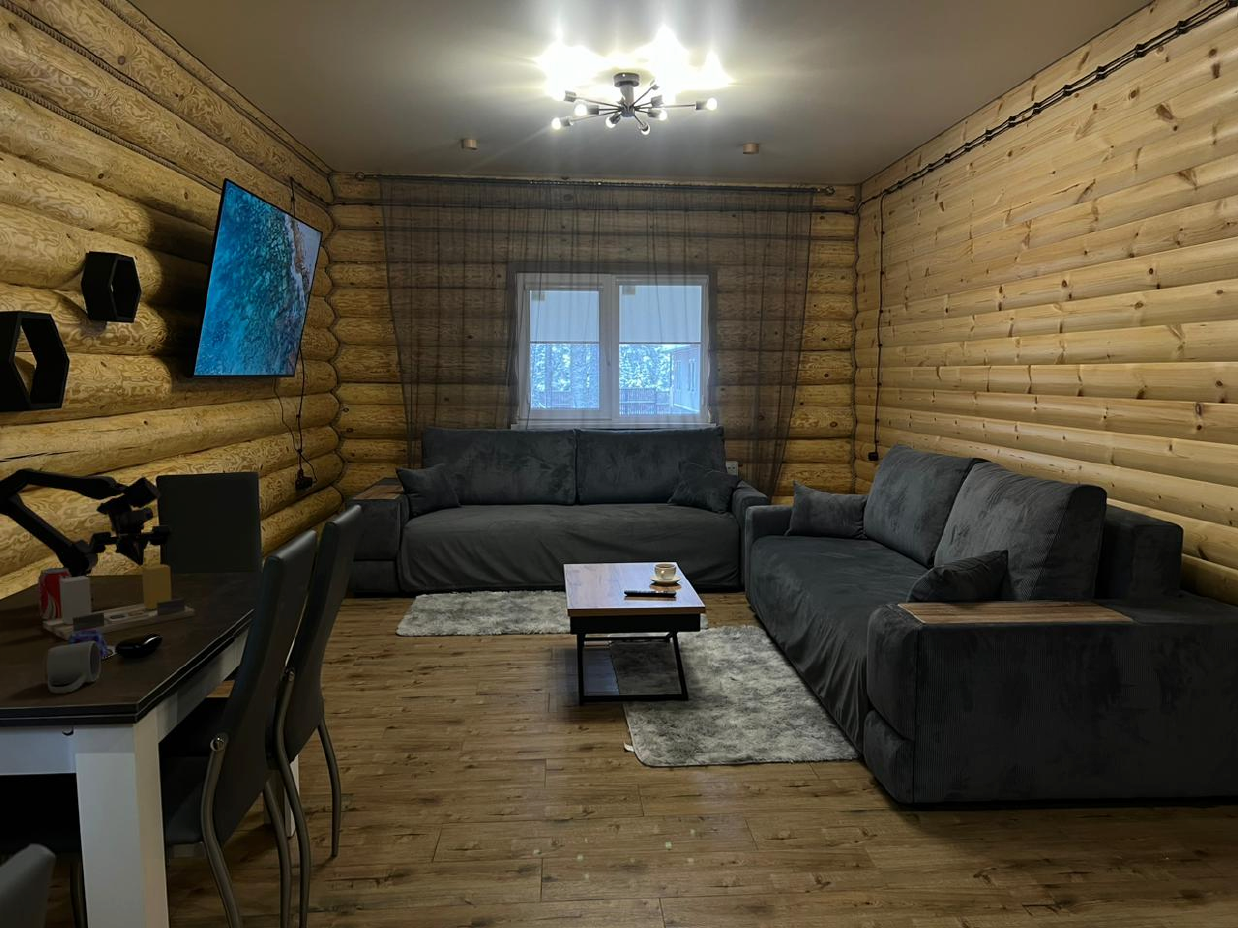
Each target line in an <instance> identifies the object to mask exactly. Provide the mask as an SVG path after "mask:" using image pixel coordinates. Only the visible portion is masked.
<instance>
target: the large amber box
mask: <svg viewBox="0 0 1238 928" xmlns="http://www.w3.org/2000/svg"><path fill="white" fill-rule="evenodd" d="M141 571H142V589H143V593H142V594H143V604H144V607H146V608H148V609H150V610H151V609H157V603H158V602H163V601H169V600H173V599H172V585H171V584H172V583H171V566H170V565H167V564H164V563H163V564H156V565H150V566H143V567H142V566H141Z"/></svg>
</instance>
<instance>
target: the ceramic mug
mask: <svg viewBox="0 0 1238 928" xmlns="http://www.w3.org/2000/svg"><path fill="white" fill-rule="evenodd" d="M42 661H43V662H42V670H43V671H42V672H43V677H44V679H45V682H46V683H47V687H48V690H49V691H50V692H51V693H53V694H55V695H57V693H64V694H68V693H67V692H69V693H72V692H74V691H76V690H78V689H80V688H81V687H82V685H83V684H86V682H88V683H94V681H95V680H96V679H97V678H98V679H99V678H100V672H101V663H102V662H101V658H100V651H99V647H98V645H97V643H96V642H95V641H90V642H84V643H77V644H71V645H67V644H65V645H58V646H55V647H51V648H49V649H48V650H47V651H46V652H45V654H44V657H43V660H42ZM93 678H95V679H94V680H93ZM98 679H97V680H98ZM97 680H96V681H97ZM96 681H95V682H96ZM63 684H64V685H66V686H62V685H63ZM58 686H59V687H58Z"/></svg>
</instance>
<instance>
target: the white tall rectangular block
mask: <svg viewBox="0 0 1238 928" xmlns="http://www.w3.org/2000/svg"><path fill="white" fill-rule="evenodd" d="M60 597H61V614H62V622H64V623H66V624H67V625H69V624H73V617H79V616H85V615H90V614H92V613H93V612H92V600H91V597H92V596H91V581H90V578H89V577H88V576H87V577H85V576H80V577H73V578H66V579H60Z"/></svg>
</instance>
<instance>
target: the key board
mask: <svg viewBox="0 0 1238 928" xmlns="http://www.w3.org/2000/svg"><path fill="white" fill-rule="evenodd" d="M185 603H186V602H185V598H182V597H181V598H175V599H172V600H169V601H163V602H158V603H157V609H151V610H150V609H148V608H146V607H144V603H139V604H134V605H128V606H122V607H116V608H112V609H111V608H110V609H104V610H100V611H94V612H91V613H92V614H90V615H85V616H79V617H73V624H69V625H67V624H66V623H64V622H62V618H59V619H53V620H47V621H46V620H43V621H42V628H43V629H45V630H47V631H49V632H50V633H52V634H54V635H55V636H57V637H58V638H61V639H63V640H65V641H68V640H69V637H70V635H71V634H73V633H77V632H80V631H86V630H98V631H100V632H101V633H102V634H107V633H112V632H117V631H122V630H127V629H132V628H138V627H143V626H147V625H152V624H158V623H163V622H169V621H172V620H173V621H174V620H179V619H183V618H188V617H193V616H195V609H194V608H192V607H188V606H187V605H186V604H185Z"/></svg>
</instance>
